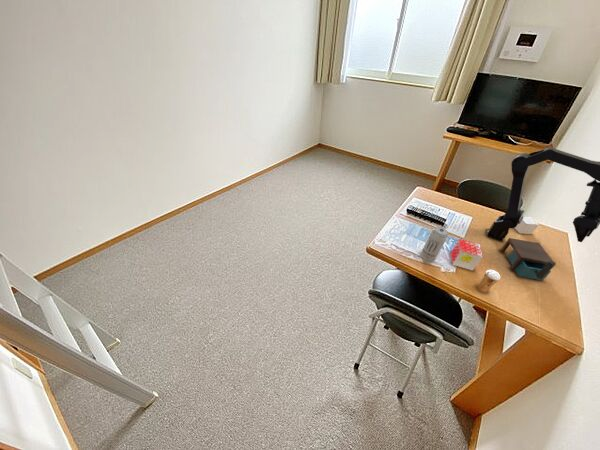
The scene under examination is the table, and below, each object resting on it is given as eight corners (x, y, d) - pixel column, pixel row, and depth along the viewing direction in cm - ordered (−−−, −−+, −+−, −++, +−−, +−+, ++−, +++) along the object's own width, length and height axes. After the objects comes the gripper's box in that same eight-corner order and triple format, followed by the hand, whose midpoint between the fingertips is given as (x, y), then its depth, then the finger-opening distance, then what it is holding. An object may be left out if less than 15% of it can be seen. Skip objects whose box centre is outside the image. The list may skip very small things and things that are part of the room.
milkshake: (471, 284, 104) (484, 266, 98) (484, 284, 105) (497, 266, 98) (478, 294, 100) (492, 276, 94) (491, 293, 101) (506, 276, 95)
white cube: (512, 225, 137) (519, 216, 134) (523, 226, 137) (531, 217, 134) (519, 233, 133) (526, 223, 129) (531, 234, 133) (539, 224, 129)
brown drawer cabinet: (499, 250, 121) (509, 237, 116) (528, 255, 120) (539, 243, 115) (510, 270, 112) (521, 257, 107) (542, 276, 111) (554, 263, 106)
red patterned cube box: (452, 264, 112) (460, 250, 107) (450, 252, 118) (459, 238, 113) (473, 270, 110) (482, 256, 105) (470, 257, 116) (479, 244, 111)
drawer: (507, 257, 118) (522, 237, 111) (529, 261, 117) (546, 241, 110) (522, 282, 106) (540, 262, 99) (546, 287, 106) (567, 267, 98)
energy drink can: (416, 257, 113) (430, 230, 104) (422, 250, 117) (436, 223, 108) (430, 265, 110) (446, 238, 101) (436, 258, 114) (451, 231, 105)
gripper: (627, 209, 88) (607, 253, 93) (638, 200, 97) (619, 240, 103) (580, 201, 96) (564, 241, 102) (594, 194, 106) (579, 231, 112)
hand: (583, 238), depth 104 cm, fingers open, 9 cm apart
